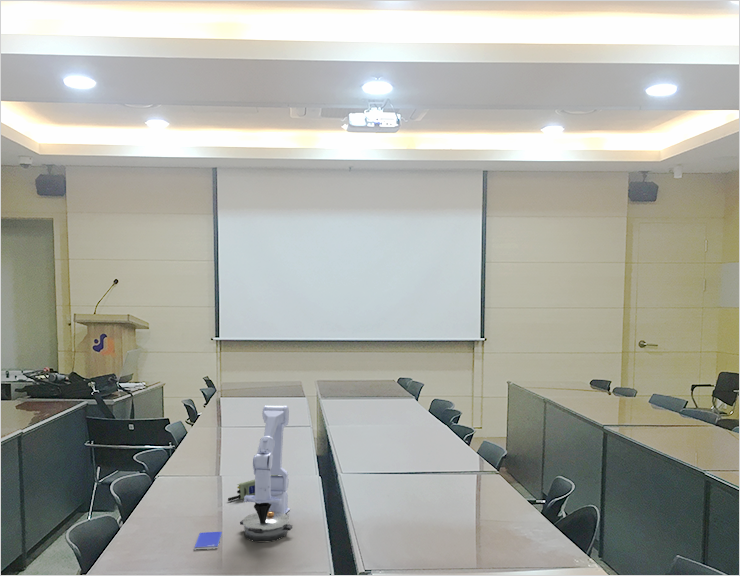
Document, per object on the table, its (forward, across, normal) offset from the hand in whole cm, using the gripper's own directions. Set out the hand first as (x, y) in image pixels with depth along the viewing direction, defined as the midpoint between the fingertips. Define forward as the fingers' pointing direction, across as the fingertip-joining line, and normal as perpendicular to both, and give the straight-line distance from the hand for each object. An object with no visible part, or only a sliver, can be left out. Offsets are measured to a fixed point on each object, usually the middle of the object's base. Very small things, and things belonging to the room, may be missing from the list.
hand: (262, 522), depth 226 cm
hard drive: (+6, -17, -10) cm, 21 cm away
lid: (+1, 0, +2) cm, 2 cm away
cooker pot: (+5, 0, +3) cm, 6 cm away
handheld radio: (+5, -22, +38) cm, 44 cm away
